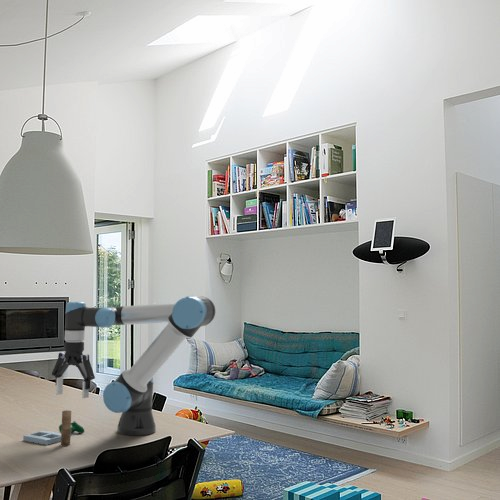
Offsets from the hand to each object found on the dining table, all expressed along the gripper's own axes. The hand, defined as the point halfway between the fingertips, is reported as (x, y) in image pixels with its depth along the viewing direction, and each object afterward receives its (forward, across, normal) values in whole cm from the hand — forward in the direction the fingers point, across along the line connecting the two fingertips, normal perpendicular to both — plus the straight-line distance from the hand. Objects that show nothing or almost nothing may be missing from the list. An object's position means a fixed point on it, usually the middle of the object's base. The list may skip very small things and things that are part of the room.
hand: (72, 396), depth 241 cm
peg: (+15, -10, +13) cm, 22 cm away
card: (+15, 0, 0) cm, 15 cm away
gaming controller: (+15, 0, 0) cm, 15 cm away
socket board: (+15, +1, +12) cm, 19 cm away
